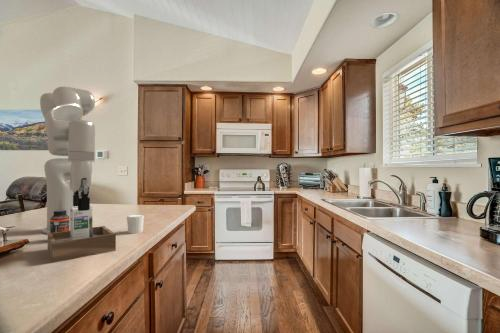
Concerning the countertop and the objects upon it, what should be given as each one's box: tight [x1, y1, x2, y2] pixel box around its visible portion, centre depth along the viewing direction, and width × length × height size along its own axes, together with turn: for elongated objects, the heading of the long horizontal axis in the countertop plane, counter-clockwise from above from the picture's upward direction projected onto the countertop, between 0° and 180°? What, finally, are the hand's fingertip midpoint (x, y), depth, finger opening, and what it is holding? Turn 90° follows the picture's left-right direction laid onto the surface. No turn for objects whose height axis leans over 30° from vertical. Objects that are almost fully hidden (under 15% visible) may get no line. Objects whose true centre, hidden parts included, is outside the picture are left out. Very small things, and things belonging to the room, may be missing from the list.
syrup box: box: [70, 205, 94, 240], centre depth 88 cm, size 6×6×14 cm
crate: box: [47, 225, 117, 263], centre depth 88 cm, size 16×17×6 cm
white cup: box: [126, 213, 145, 234], centre depth 113 cm, size 7×7×7 cm
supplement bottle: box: [50, 210, 69, 233], centre depth 100 cm, size 6×6×11 cm
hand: (81, 208), depth 89 cm, fingers open, 9 cm apart
